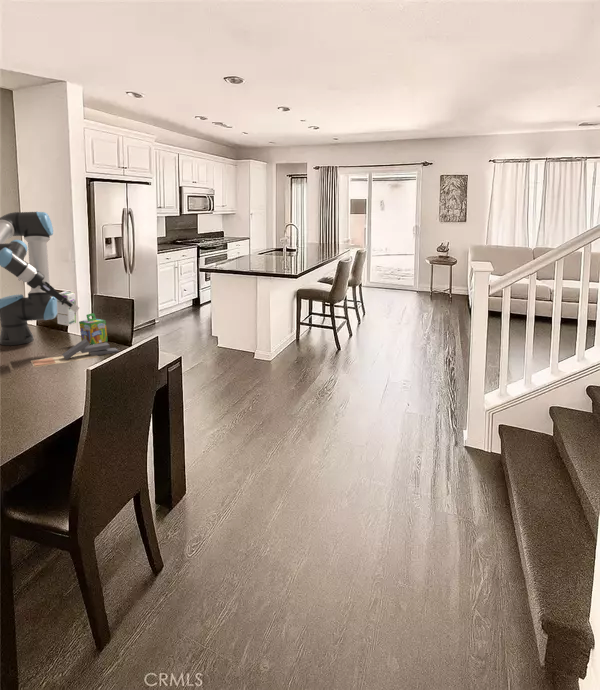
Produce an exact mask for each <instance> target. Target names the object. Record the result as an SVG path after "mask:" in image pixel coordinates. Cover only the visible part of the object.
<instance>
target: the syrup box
mask: <svg viewBox="0 0 600 690" xmlns="http://www.w3.org/2000/svg"><path fill="white" fill-rule="evenodd" d="M59 294H61V295H62V296H63V297H65V298H67V299H68V300H69V301H71V302H72V303H74V304H75V305H76V292H72V291H69V290H68V291H66V290H65V291H64V290H63V291H62V292H59ZM63 299H64V298H63ZM63 299H62V300H63ZM76 306H77V305H76ZM76 314H77V312H74V311H73V310H71V309H70V308H69V307H67V306H66V305H64V304H63V305H62V303H61V302H60V301H59V300H58V299H57V315H56V318H57V319H56V320H57V324H58V325H63V326H70V325H74V324H76V323H77V315H76Z"/></svg>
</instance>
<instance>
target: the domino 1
mask: <svg viewBox="0 0 600 690" xmlns="http://www.w3.org/2000/svg"><path fill="white" fill-rule="evenodd" d="M88 345H91V344H90V343H89V342H88V341H87V339H86V338H85V339H84V340H82V341H79V342H78V343H76V344H75V345H73V346H72V347H71V348H69V349H68V350H65V352H63V353H62V355H61V356H63V357H64V358H65V359H66V360H67V359H69V358H70V357H72V356H73V355H75V354H77V353H80V352H81V351H80V350H82V349H83V348H85V347H86V346H88Z"/></svg>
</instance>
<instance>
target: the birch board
mask: <svg viewBox="0 0 600 690" xmlns="http://www.w3.org/2000/svg"><path fill="white" fill-rule="evenodd" d="M97 358H99V355H94V356H91V355H90V354H89V352H87V353H82V352H78V353H76V354H75V355H73V356H72V357H70V358H69V359H67V360H66V359H65V358H64V357H63V355H59V356H51V357H46V358H38V359H31V360H30V362H31V364H32V365H31V366H32V367H33V368H34V369H35V368H41V367H46V366H47V367H48V366H51V365H53V366H54V365H58V364H65V363H66V364H67V363H71V362H77V361H83V360H88V359H89V360H91V359H97Z"/></svg>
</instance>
